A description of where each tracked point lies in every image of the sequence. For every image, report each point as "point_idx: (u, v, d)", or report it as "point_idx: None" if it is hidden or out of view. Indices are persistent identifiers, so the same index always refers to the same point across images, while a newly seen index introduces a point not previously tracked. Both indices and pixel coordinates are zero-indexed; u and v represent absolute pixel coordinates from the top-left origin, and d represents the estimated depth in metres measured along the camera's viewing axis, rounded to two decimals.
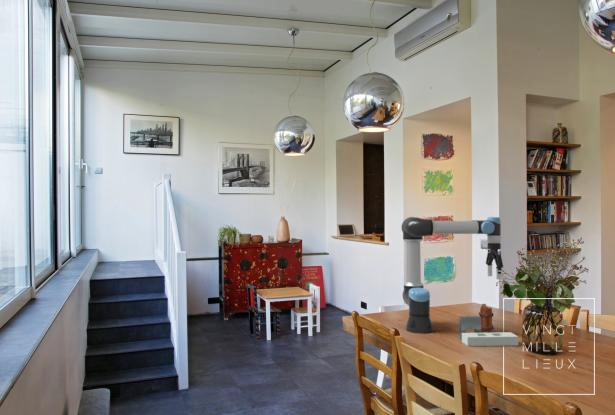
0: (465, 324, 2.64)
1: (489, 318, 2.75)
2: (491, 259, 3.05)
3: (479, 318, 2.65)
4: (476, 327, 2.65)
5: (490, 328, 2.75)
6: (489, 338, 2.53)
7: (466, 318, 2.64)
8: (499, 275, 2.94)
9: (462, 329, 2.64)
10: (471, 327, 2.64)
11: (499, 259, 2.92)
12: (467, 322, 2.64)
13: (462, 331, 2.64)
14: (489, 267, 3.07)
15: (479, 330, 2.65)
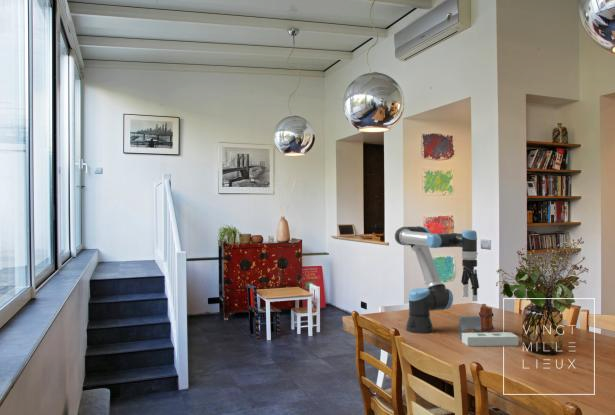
0: (465, 324, 2.64)
1: (489, 318, 2.75)
2: (467, 278, 2.70)
3: (479, 318, 2.65)
4: (476, 327, 2.65)
5: (490, 328, 2.75)
6: (489, 338, 2.53)
7: (466, 318, 2.64)
8: (475, 296, 2.59)
9: (462, 329, 2.64)
10: (471, 327, 2.64)
11: (475, 278, 2.58)
12: (467, 322, 2.64)
13: (462, 331, 2.64)
14: (465, 286, 2.73)
15: (479, 330, 2.65)
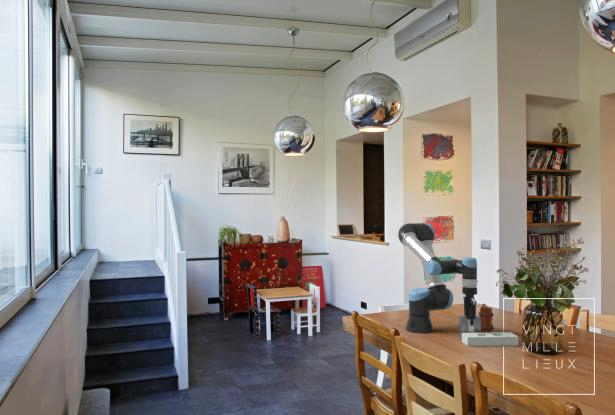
0: (465, 324, 2.64)
1: (489, 318, 2.75)
2: (468, 307, 2.68)
3: (479, 318, 2.65)
4: (476, 327, 2.65)
5: (490, 328, 2.75)
6: (489, 338, 2.53)
7: (466, 318, 2.64)
8: (471, 327, 2.64)
9: (462, 329, 2.64)
10: None
11: (473, 310, 2.60)
12: (467, 322, 2.64)
13: (462, 331, 2.64)
14: None
15: (479, 330, 2.65)
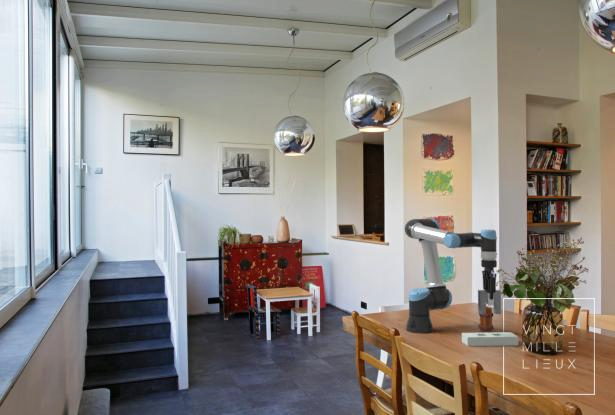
0: (484, 298, 2.55)
1: (489, 318, 2.75)
2: (488, 281, 2.59)
3: (499, 292, 2.56)
4: (496, 301, 2.56)
5: (490, 328, 2.75)
6: (489, 338, 2.53)
7: (485, 292, 2.56)
8: (491, 301, 2.55)
9: (481, 303, 2.55)
10: None
11: (493, 283, 2.52)
12: (486, 296, 2.56)
13: (481, 305, 2.55)
14: None
15: (499, 304, 2.56)
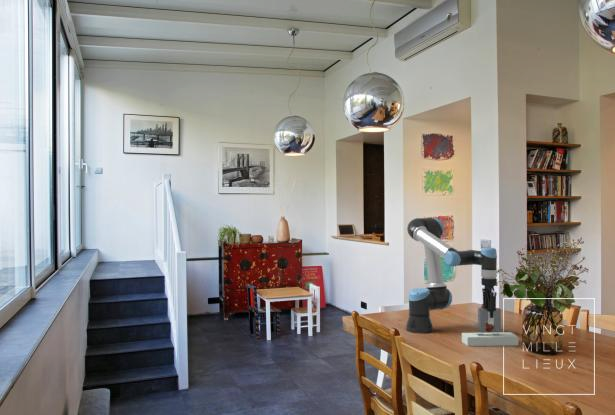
0: (484, 316, 2.56)
1: None
2: (488, 299, 2.59)
3: (499, 310, 2.56)
4: (496, 319, 2.56)
5: (490, 328, 2.75)
6: (489, 338, 2.53)
7: (485, 310, 2.56)
8: (491, 319, 2.55)
9: (481, 321, 2.55)
10: None
11: (493, 302, 2.52)
12: (486, 314, 2.56)
13: (481, 323, 2.55)
14: None
15: (499, 322, 2.56)
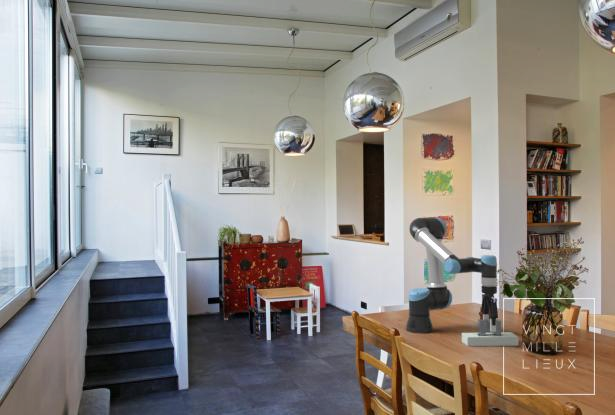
0: (484, 328, 2.56)
1: (489, 318, 2.75)
2: (487, 306, 2.60)
3: (499, 322, 2.56)
4: (496, 331, 2.56)
5: None
6: (489, 338, 2.53)
7: (485, 322, 2.56)
8: (493, 327, 2.52)
9: (481, 333, 2.55)
10: None
11: (494, 308, 2.50)
12: (486, 326, 2.56)
13: (481, 335, 2.55)
14: (485, 316, 2.62)
15: (499, 334, 2.56)
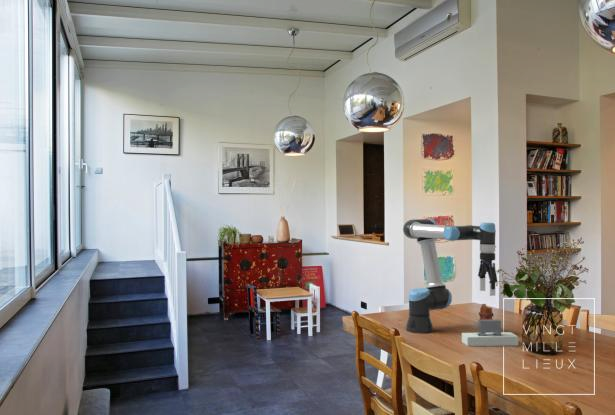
0: (484, 328, 2.56)
1: (489, 318, 2.75)
2: (484, 271, 2.63)
3: (499, 322, 2.56)
4: (496, 331, 2.56)
5: None
6: (489, 338, 2.53)
7: (485, 322, 2.56)
8: (493, 291, 2.52)
9: (481, 333, 2.55)
10: (491, 331, 2.56)
11: (493, 272, 2.51)
12: (486, 326, 2.56)
13: (481, 335, 2.55)
14: (482, 280, 2.65)
15: (499, 334, 2.56)
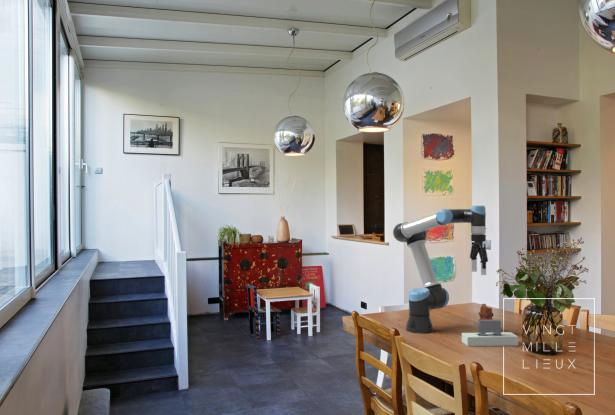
0: (484, 328, 2.56)
1: (489, 318, 2.75)
2: (475, 253, 2.73)
3: (499, 322, 2.56)
4: (496, 331, 2.56)
5: None
6: (489, 338, 2.53)
7: (485, 322, 2.56)
8: (484, 270, 2.62)
9: (481, 333, 2.55)
10: (491, 331, 2.56)
11: (483, 252, 2.61)
12: (486, 326, 2.56)
13: (481, 335, 2.55)
14: (473, 262, 2.76)
15: (499, 334, 2.56)
